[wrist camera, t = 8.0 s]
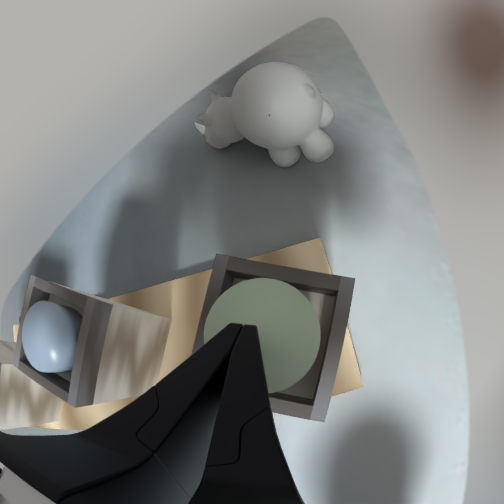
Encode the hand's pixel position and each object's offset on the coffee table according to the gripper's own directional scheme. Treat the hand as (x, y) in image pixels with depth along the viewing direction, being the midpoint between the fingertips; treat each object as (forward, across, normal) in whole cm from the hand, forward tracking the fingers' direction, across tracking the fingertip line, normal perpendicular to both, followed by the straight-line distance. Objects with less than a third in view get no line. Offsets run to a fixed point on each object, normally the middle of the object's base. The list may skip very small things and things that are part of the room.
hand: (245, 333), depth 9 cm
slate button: (+2, +12, +5) cm, 13 cm away
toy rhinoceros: (+22, +3, -2) cm, 22 cm away
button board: (+7, +11, +12) cm, 18 cm away
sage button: (+2, 0, +2) cm, 3 cm away
